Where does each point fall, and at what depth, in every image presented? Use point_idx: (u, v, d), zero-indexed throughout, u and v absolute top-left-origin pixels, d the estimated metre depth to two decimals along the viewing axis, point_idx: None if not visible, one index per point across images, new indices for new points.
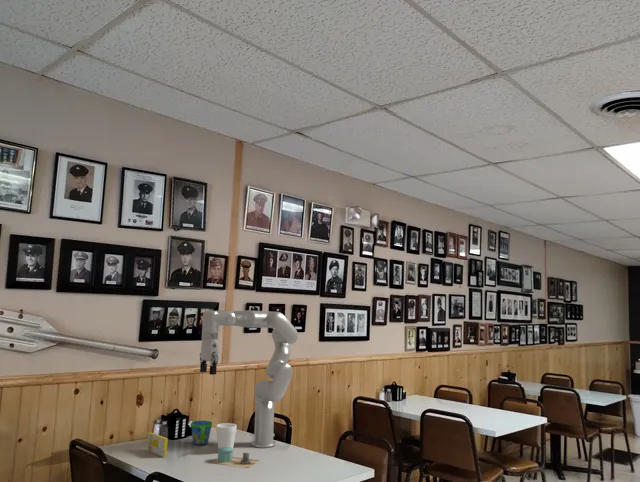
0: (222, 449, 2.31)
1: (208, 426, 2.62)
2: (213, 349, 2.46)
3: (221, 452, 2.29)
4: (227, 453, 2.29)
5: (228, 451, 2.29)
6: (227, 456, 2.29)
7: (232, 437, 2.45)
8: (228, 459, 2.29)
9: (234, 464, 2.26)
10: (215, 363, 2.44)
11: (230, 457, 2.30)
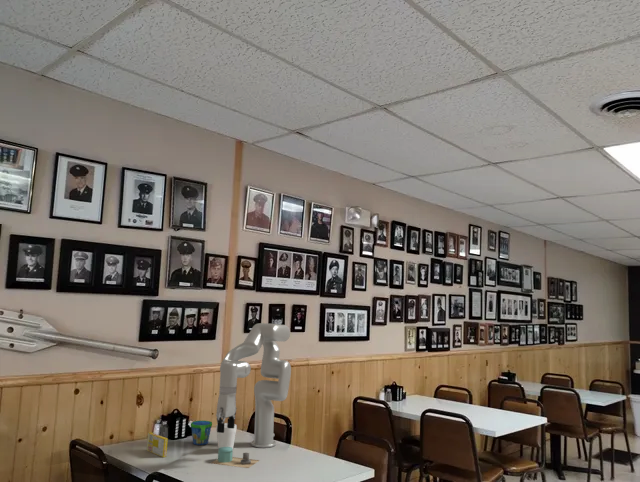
0: (222, 449, 2.31)
1: (208, 426, 2.62)
2: None
3: (221, 452, 2.29)
4: (227, 453, 2.29)
5: (228, 451, 2.29)
6: (227, 456, 2.29)
7: (232, 437, 2.45)
8: (228, 459, 2.29)
9: (234, 464, 2.26)
10: None
11: (230, 457, 2.30)
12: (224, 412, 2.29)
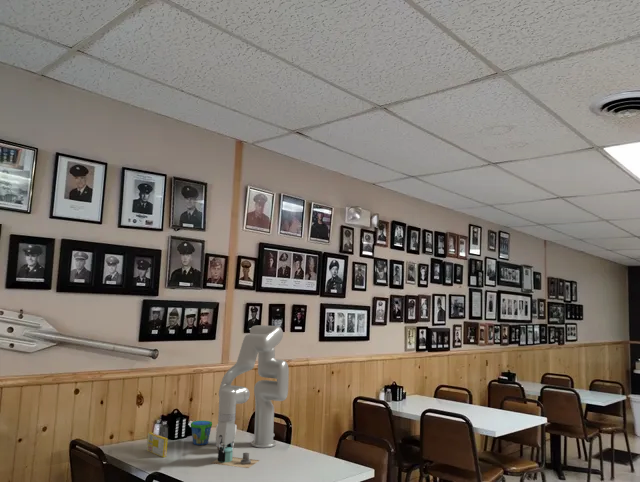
0: None
1: (208, 426, 2.62)
2: None
3: None
4: (227, 453, 2.29)
5: (228, 451, 2.29)
6: (227, 456, 2.29)
7: None
8: (228, 459, 2.29)
9: (234, 464, 2.26)
10: None
11: (230, 457, 2.30)
12: (223, 440, 2.27)
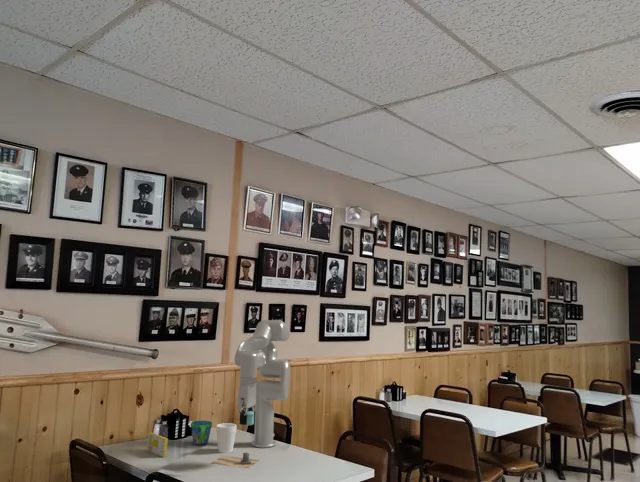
0: None
1: (208, 426, 2.62)
2: None
3: None
4: (249, 416, 2.28)
5: (250, 414, 2.29)
6: (249, 419, 2.28)
7: (232, 437, 2.45)
8: (250, 422, 2.28)
9: (234, 464, 2.26)
10: None
11: (252, 420, 2.29)
12: (245, 403, 2.27)
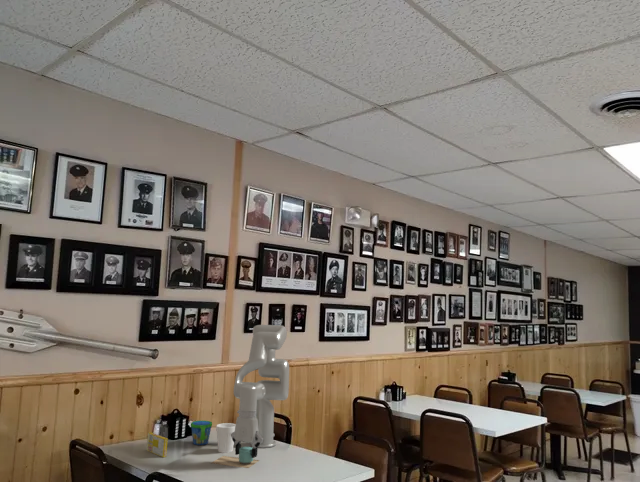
0: (248, 449, 2.28)
1: (208, 426, 2.62)
2: None
3: (251, 452, 2.27)
4: None
5: None
6: None
7: None
8: None
9: (234, 464, 2.26)
10: None
11: None
12: None
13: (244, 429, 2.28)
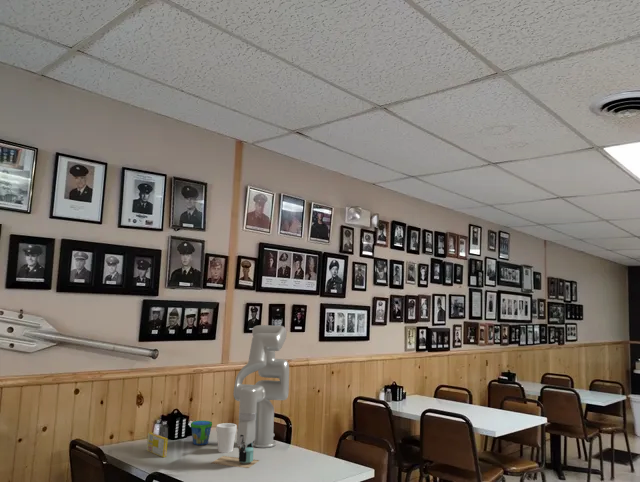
0: (248, 449, 2.28)
1: (208, 426, 2.62)
2: None
3: (251, 452, 2.27)
4: None
5: None
6: None
7: (232, 437, 2.45)
8: None
9: (234, 464, 2.26)
10: None
11: None
12: (244, 440, 2.25)
13: None
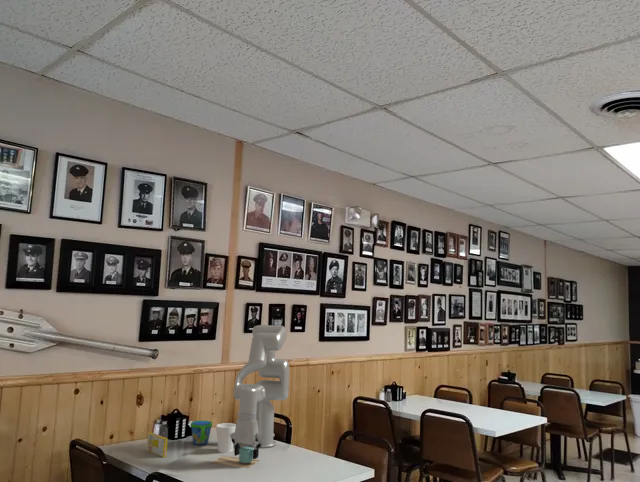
0: (250, 448, 2.30)
1: (208, 426, 2.62)
2: None
3: None
4: None
5: None
6: None
7: None
8: None
9: (234, 464, 2.26)
10: None
11: None
12: None
13: (244, 431, 2.28)
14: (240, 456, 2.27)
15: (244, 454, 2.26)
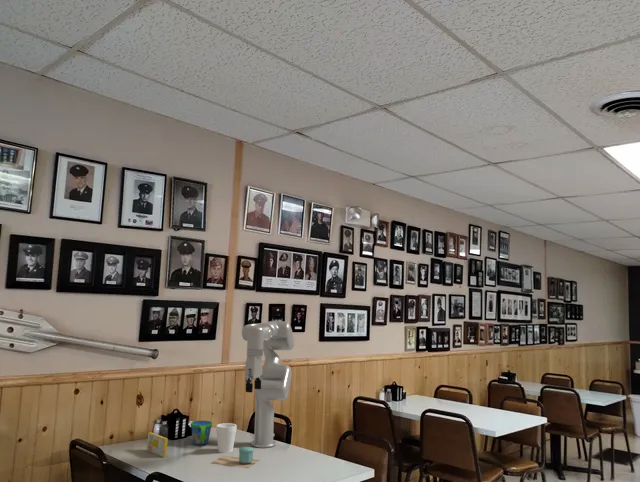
0: (250, 448, 2.30)
1: (208, 426, 2.62)
2: None
3: None
4: None
5: None
6: None
7: (232, 437, 2.45)
8: None
9: (234, 464, 2.26)
10: None
11: None
12: (252, 373, 2.40)
13: None
14: (240, 456, 2.27)
15: (244, 454, 2.26)
